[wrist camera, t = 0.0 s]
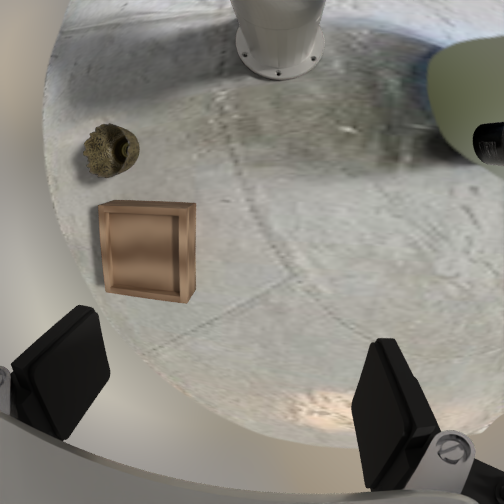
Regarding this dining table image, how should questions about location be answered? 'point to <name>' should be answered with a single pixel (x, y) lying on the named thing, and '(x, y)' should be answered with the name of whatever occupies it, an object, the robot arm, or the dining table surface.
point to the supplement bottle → (490, 143)
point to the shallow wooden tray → (149, 249)
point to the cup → (110, 150)
